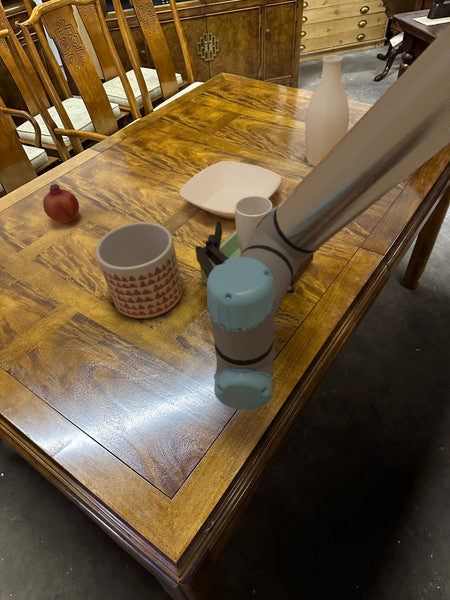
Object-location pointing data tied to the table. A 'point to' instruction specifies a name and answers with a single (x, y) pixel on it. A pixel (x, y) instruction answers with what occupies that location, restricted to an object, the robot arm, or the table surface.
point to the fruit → (60, 204)
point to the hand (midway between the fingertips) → (255, 226)
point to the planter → (140, 269)
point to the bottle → (326, 112)
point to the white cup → (249, 217)
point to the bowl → (228, 186)
